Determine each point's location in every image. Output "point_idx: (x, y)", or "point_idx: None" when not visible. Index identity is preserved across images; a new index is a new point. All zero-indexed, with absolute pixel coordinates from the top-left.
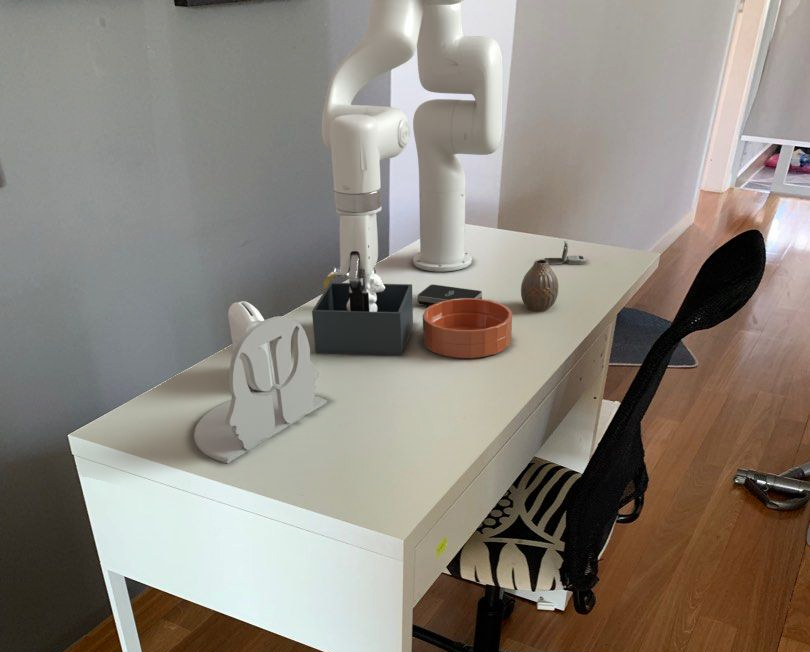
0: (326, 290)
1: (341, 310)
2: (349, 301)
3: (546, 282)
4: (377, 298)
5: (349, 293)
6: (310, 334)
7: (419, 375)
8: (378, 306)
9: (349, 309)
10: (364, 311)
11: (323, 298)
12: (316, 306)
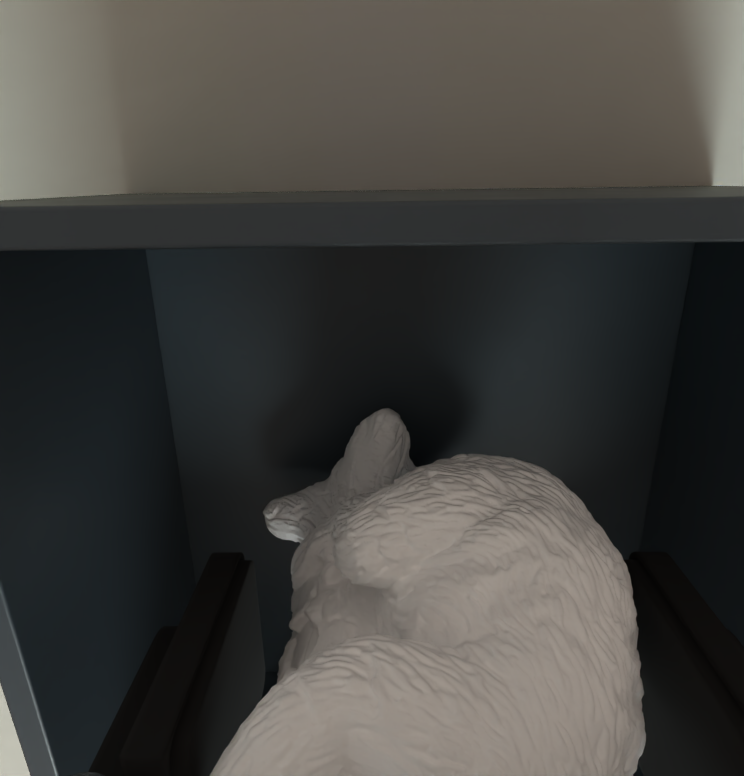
0: (708, 226)
1: (741, 283)
2: (420, 541)
3: None
4: (738, 634)
5: (124, 750)
6: (468, 49)
7: (14, 752)
8: (700, 589)
9: (347, 515)
10: (45, 760)
11: (415, 244)
12: (27, 236)
